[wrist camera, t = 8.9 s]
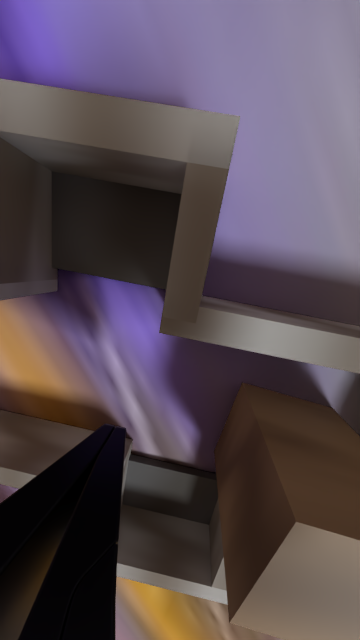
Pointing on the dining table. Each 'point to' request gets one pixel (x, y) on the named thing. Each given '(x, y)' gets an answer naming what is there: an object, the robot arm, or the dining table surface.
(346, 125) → the dining table surface
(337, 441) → the block
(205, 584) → the trap lane
